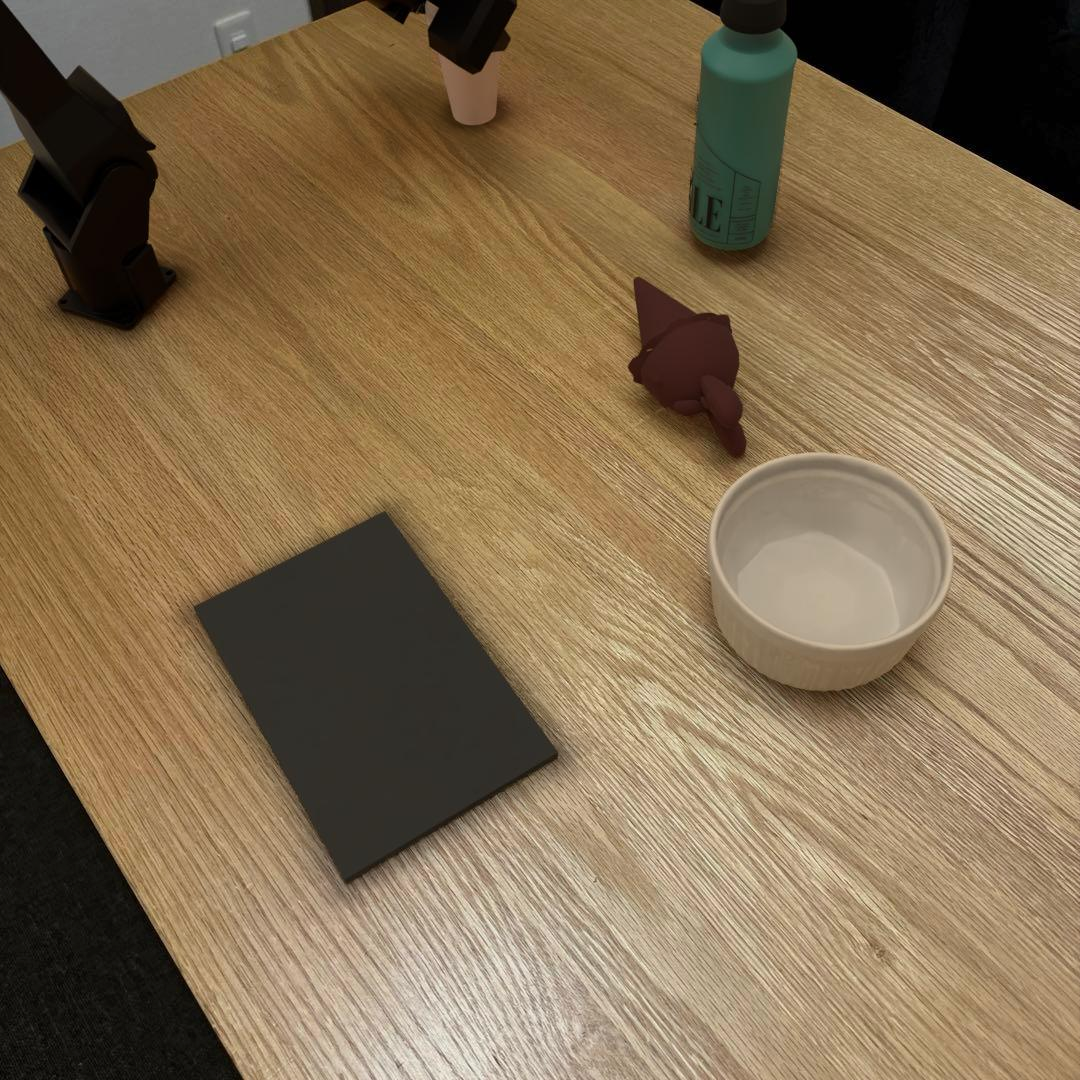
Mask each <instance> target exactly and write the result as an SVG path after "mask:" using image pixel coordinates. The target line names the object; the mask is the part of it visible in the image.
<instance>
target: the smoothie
mask: <svg viewBox="0 0 1080 1080" xmlns="http://www.w3.org/2000/svg"><path fill="white" fill-rule="evenodd" d="M438 9H439V8H438V7H437V6H435V5H433V4H432V3H430V2H429V1H426V3H425V11H426V14H424V18H425V23H426V24H427V25H428V27H429V26H430V24H431V22H432V20H433V18H434V16H435V15H436V13H437V11H438ZM437 56H438V61H439V64H440V67H441V73H442V76H443V81H444V85H445V88H446V92H447V96H448V100H449V101H448V102H449V105H450V110H451V113H452V114H451V115H452V117H453V118H454V120H455V121H456V122H458V123H460V124H462V125H465V126H480V125H484V124H486V123H488V122H490V121H492V120H493V119H494V118H495V116H496V115H497V104H498V92H499V91H498V89H499V74H500V61H501V51H499V52H492V53H491V55H490V57H489V58H488V60H487V62H486V64H485V66H484V68H483V69H482V71H481V72H479V73H476V74H474V75H472V74H470V73H469V72H467V71H465V70H464V69H462V68H460V67H458V66H457V65H455V64H454V63H453V62H451V61H450V60H448V59H447V58H445V57H444V56H442V55H441V54H439V53H438V52H437Z"/></svg>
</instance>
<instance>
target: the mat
mask: <svg viewBox="0 0 1080 1080" xmlns="http://www.w3.org/2000/svg"><path fill="white" fill-rule="evenodd" d="M193 610H194V612H195V614H196V616H197V617H198V619H199V621H200V623H201V625H202V627H203V628H204V630H205V632H206V634H207V636H208V637H209V639H210V641H211V643H212V644H213V647H214V649H215V650H216V652H217V653H218V655H219V657H220V659H221V661H222V662H223V664H224V666H225V668H226V670H227V671H228V674H229V675H230V677H231V679H232V680H233V683H234V684H235V686H236V688H237V690H238V692H239V693H240V695H241V697H242V699H243V701H244V702H245V704H246V706H247V708H248V709H249V711H250V713H251V716H252V717H253V719H254V720H255V722H256V723H257V726H258V727H259V729H260V732H261V733H262V735H263V736H264V739H265V740H266V742H267V744H268V746H269V747H270V749H271V751H272V753H273V755H274V757H275V759H276V760H277V762H278V764H279V766H280V768H281V769H282V771H283V773H284V775H285V776H286V778H287V780H288V783H289V784H290V785H291V787H292V789H293V791H294V793H295V794H296V796H297V798H298V800H299V801H300V803H301V805H302V807H303V809H304V810H305V812H306V814H307V816H308V818H309V820H310V821H311V824H312V825H313V827H314V829H315V831H316V832H317V834H318V836H319V838H320V839H321V841H322V843H323V845H324V848H326V850H327V853H328V854H329V856H330V858H331V860H332V862H333V864H334V865H335V867H336V868H337V870H338V872H339V874H340V877H342V880H343V881H344V883H345V884H348V883H351V882H352V881H354V880H355V879H357V878H359V877H360V876H362V875H363V874H365V873H368V872H369V871H371V870H372V869H374V868H376V867H377V866H379V865H381V864H382V863H383V862H385V861H387V860H388V859H390V858H392V857H394V856H396V855H397V854H399V853H401V852H403V851H404V850H406V849H407V848H409V847H410V846H412V845H414V844H415V843H417V842H419V841H421V840H422V839H424V838H426V837H428V836H429V835H430V834H432V833H434V832H435V831H437V830H439V829H441V828H443V827H444V826H445V825H447V824H449V823H451V822H452V821H454V820H456V819H457V818H459V817H460V816H462V815H464V814H466V813H467V812H469V811H471V810H472V809H473V808H475V807H477V806H479V805H481V804H482V803H484V802H486V801H487V800H489V799H490V798H492V797H494V796H496V795H497V794H498V793H501V792H503V791H504V790H505V789H507V788H509V787H511V786H512V785H514V784H516V783H517V782H519V781H521V780H522V779H524V778H526V777H527V776H529V775H531V774H532V773H534V772H536V771H538V770H539V769H541V768H543V767H544V766H545V765H547V764H549V763H550V762H553V761H554V760H556V759H557V758H558V757H559V752H558V749H556V747H555V746H554V745H553V743H552V741H551V740H550V739H549V737H548V736H547V735H546V733H545V732H544V730H543V729H542V728H541V726H540V725H539V723H538V722H537V721H536V720H535V718H534V717H533V715H532V714H531V712H530V711H529V709H528V708H527V707H526V705H525V704H524V702H523V701H522V700H521V698H520V697H519V695H518V694H517V693H516V692H515V689H513V687H512V686H511V684H510V683H509V682H508V680H507V679H506V677H505V676H504V674H503V673H502V672H501V670H500V669H499V667H498V665H496V663H495V662H494V660H493V659H492V658H491V656H490V655H489V653H488V652H487V650H485V648H484V647H483V645H482V644H481V642H480V641H479V640H478V638H477V637H476V636H475V634H474V633H473V631H472V630H471V628H470V627H469V625H468V624H467V622H466V621H465V620H464V618H463V617H462V616H461V615H460V613H459V611H458V610H457V609H456V608H455V606H454V605H453V604H452V602H451V601H450V599H449V598H448V596H447V595H446V594H445V592H444V591H443V589H442V588H441V587H440V585H439V584H438V582H437V581H436V580H435V578H434V577H433V575H432V574H431V573H430V571H429V570H428V568H427V567H426V565H425V564H424V563H423V561H422V560H421V559H420V557H419V556H418V554H417V553H416V552H415V550H414V549H413V547H412V546H411V545H410V543H409V542H408V540H407V539H406V538H405V536H404V535H403V533H402V532H401V531H400V529H399V528H398V526H397V525H396V523H394V521H393V520H392V518H391V517H390V515H389V514H388V512H387V511H386V510H384V511H382V512H379V513H378V514H375V515H373V516H372V517H370V518H367V519H365V520H363V521H362V522H359V523H358V524H356V525H354V526H352V527H350V528H348V529H346V530H344V531H342V532H340V533H337V534H336V535H334V536H332V537H330V538H328V539H325V540H324V541H322V542H320V543H318V544H315V545H313V546H312V547H309V548H308V549H306V550H304V551H302V552H300V553H298V554H295V555H294V556H292V557H290V558H288V559H286V560H284V561H282V562H280V563H278V564H275V565H274V566H271V567H270V568H268V569H266V570H263V571H262V572H260V573H258V574H256V575H254V576H252V577H250V578H248V579H246V580H244V581H241V582H240V583H238V584H236V585H234V586H231V587H230V588H227V589H225V590H224V591H221V592H220V593H218V594H216V595H213V596H212V597H209V598H208V599H206V600H203V601H202V602H200V603H198V604H196V605H194V606H193Z"/></svg>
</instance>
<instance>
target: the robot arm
mask: <svg viewBox="0 0 1080 1080" xmlns="http://www.w3.org/2000/svg"><path fill="white" fill-rule="evenodd" d="M426 1H429V2H430V3H432V4H433V5H435V6H437V7H438V8H439V9H438V11H437V13H436V15H435V16H434V18H433V20H432V22H431V24H430V26H429V25H428V28H427V39H428V47H429V48H430V49H432V50H434V51H435V52H436V53H437V54H438V53H439V54H441V55H442V56H444V57H445V58H447V59H448V60H450V61H451V62H453V63H454V64H455V65H457V66H458V67H460V68H462V69H464V70H465V71H467V72H469V73H470V74H472V75H474V74H476V73H479V72H481V71H482V69H483V68H484V66H485V64H486V62H487V60H488V58H489V57H490V55H491V53H492V52H499V51H500V52H504V51H506V50H507V48H508V46H509V45H510V43H511V40H512V37H511V36H510V34H509V33H508V31H507V30H506V27H507V26H508V24H509V22H510V20H511V18H512V17H513V15H514V13H515V11H516V10H517V7H518V0H362V2H367V3H369V4H371V5H372V6H374V7H375V8H376V9H378V10H380V11H381V12H383V13H384V14H385V15H387V16H388V17H390V18H391V19H393V20H394V21H396V22H398V23H399V24H401V25H405V24H406V23H405V22H406V21H407V19H408V17H409V15H410V13H413V14H415V15H420V14H421V15H425V14H426V11H425V3H426ZM0 95H1V96H2V97H3V99H4V100H5V102H6V103H7V105H8V107H9V110H10V112H11V115H12V116H13V119H14V121H15V123H16V126H17V128H18V130H19V132H20V133H21V135H22V137H23V139H24V140H25V141H26V143H27V145H28V147H29V148H30V150H31V151H32V153H33V155H32V158H31V159H30V162H29V164H28V166H27V168H26V171H25V174H24V176H23V178H22V180H21V182H20V185H19V187H18V189H17V193H16V194H17V196H18V197H19V199H20V200H21V201H22V202H23V203H24V204H25V205H26V206H27V207H28V208H29V209H30V210H31V212H33V213H34V214H35V216H36V217H37V218H38V219H39V220H40V221H41V222H42V224H43V225H44V226H43V227H42V230H41V231H42V233H43V235H44V237H45V239H46V241H47V244H48V246H49V248H50V250H51V252H52V254H53V257H54V259H55V261H56V263H57V265H58V267H59V269H60V272H61V274H62V276H63V278H64V280H65V283H66V285H67V287H68V290H66V292H65V293H63V295H62V296H61V297H60V298H58V300H57V303H56V304H57V307H58V309H59V310H60V311H62V312H65V313H69V314H72V315H75V316H78V317H82V318H84V319H88V320H92V321H94V322H98V323H101V324H104V325H107V326H110V327H114V328H117V329H120V330H123V331H129V330H131V329H134V327H135V326H136V325H137V323H138V322H139V321H140V320H141V319H142V318H143V317H144V316H145V315H146V313H148V311H149V310H150V309H151V308H152V307H153V306H154V305H155V304H156V302H157V301H158V300H159V299H160V298H161V297H162V295H163V294H165V292H166V291H167V290H168V289H169V288H170V287H171V286H172V284H174V282H176V280H177V278H178V274H177V271H176V270H175V269H174V268H171V267H170V268H169V267H167V266H164V265H160V264H159V261H158V258H157V256H156V253H155V250H154V247H153V245H152V243H149V239H150V235H149V234H150V211H151V210H150V207H151V197H152V196H153V194H154V191H155V189H156V183H157V180H158V178H159V177H160V174H159V169H158V166H157V164H156V162H155V160H154V158H153V157H152V155H151V154H150V153H149V152H150V151H154V150H156V149H157V145H156V144H155V143H154V142H153V141H152V140H151V139H150V138H149V137H148V136H146V135H145V134H144V133H143V132H142V131H141V130H140V129H139V128H137V126H136V125H135V124H134V122H133V120H132V118H131V116H130V114H129V112H128V111H127V109H126V108H125V105H124V104H123V103H122V102H121V100H119V98H118V97H116V96H115V95H114V94H113V93H112V92H110V91H109V90H108V89H107V88H106V87H105V86H104V85H103V84H102V83H101V82H100V81H99V80H97V79H96V77H94V76H93V75H92V74H90V73H89V72H88V71H87V70H86V68H84V67H83V66H82V65H80V64H79V65H77V66H76V67H75V68H74V70H73V71H71V73H70V74H69V75H68V77H65V76H64V75H63V74H62V72H61V71H60V70H59V68H58V67H57V66H56V65H55V64H54V63H53V61H52V60H51V59H50V57H49V56H48V54H46V53H45V52H44V50H43V48H41V46H40V45H39V44H38V42H37V41H36V40H35V39H34V38H33V36H32V35H31V34H30V33H29V31H28V30H27V29H26V28H25V26H24V25H23V24H22V23H21V21H20V20H19V19H18V18H17V17H16V15H15V14H14V12H12V10H11V9H10V8H9V7H8V6H7V4H6V3H5V2H4V0H0Z"/></svg>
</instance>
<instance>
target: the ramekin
mask: <svg viewBox="0 0 1080 1080" xmlns="http://www.w3.org/2000/svg"><path fill="white" fill-rule="evenodd" d="M707 529H708V530H707V535H706V541H705V558H706V565H707V569H708V573H709V577H710V588H711V599H712V605H713V613H714V615H715V618H716V621H717V625H718V627H719V629H720V630H721V634H722V636H723V637H724V638H725V640H726V642H727V643H728V645H729V646H730V647H731V648H732V649H733V650H734V652H735V653H736V655H737V656H739V657H740V658H741V659H743V661H744V662H745V663H746V664H747V665H748V666H750V667H752V668H754V669H755V670H756V671H757V672H758V673H760V674H762V675H764V676H765V677H767V678H768V679H770V680H772V681H776V682H778V683H779V684H782V685H785V686H790V687H792V688H794V689H801V690H804V691H805V690H806V691H810V692H811V691H812V692H813V691H817V692H818V691H819V692H828V691H836V692H841V691H842V690H852V689H854V688H856V687H858V686H859V687H860V686H865V685H867V684H868V683H870V682H871V681H875V680H877V679H879V678H880V677H881V676H882V675H884V674H886V673H888V672H890V671H891V670H892V669H893V667H894V666H896V665H897V664H898V663H900V661H902V659H904V657H905V656H906V654H907V653H908V652H909V651H910V650H911V649H912V647H913V646H914V644H915V643H916V641H917V640H918V639H919V637H920V636H922V635H923V634H924V633H925V632H926V631H927V630H928V629H929V627H931V625H932V624H933V623H934V621H936V619H937V617H938V616H939V614H940V612H941V611H942V609H943V607H944V605H945V603H946V601H947V598H948V594H949V593H950V588H951V585H952V582H953V577H954V570H955V554H954V548H953V543H952V540H951V536H950V533H949V531H948V529H947V526H946V524H945V522H944V519H943V518H942V516H941V515H940V513H939V512H938V510H937V509H936V507H935V506H934V505H933V504H932V502H931V501H930V499H929V498H928V497H927V496H926V495H925V494H924V493H923V492H922V491H921V490H919V489H918V488H917V486H915V485H914V484H913V483H912V482H910V481H909V480H907V479H906V478H905V477H903V476H901V475H900V474H899V473H897V472H895V471H893V470H891V469H890V468H888V467H885V466H883V465H881V464H879V463H876V462H874V461H871V460H868V459H865V458H861V457H858V456H854V455H850V454H844V453H837V452H825V451H813V452H811V451H810V452H799V453H792V454H789V455H788V454H787V455H784V456H780V457H776V458H772V459H771V460H768V461H765V462H763V463H760V464H759V465H757V466H755V467H753V468H751V469H749V470H748V471H746V472H745V473H743V474H742V475H741V476H740V477H738V478H737V479H736V480H735V481H734V482H733V483H732V484H730V486H729V487H728V488H727V489H726V491H725V492H724V493H723V494H722V495H721V497H720V499H719V500H718V502H717V503H716V506H715V507H714V510H713V512H712V515H711V518H710V521H709V525H708V528H707Z"/></svg>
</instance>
